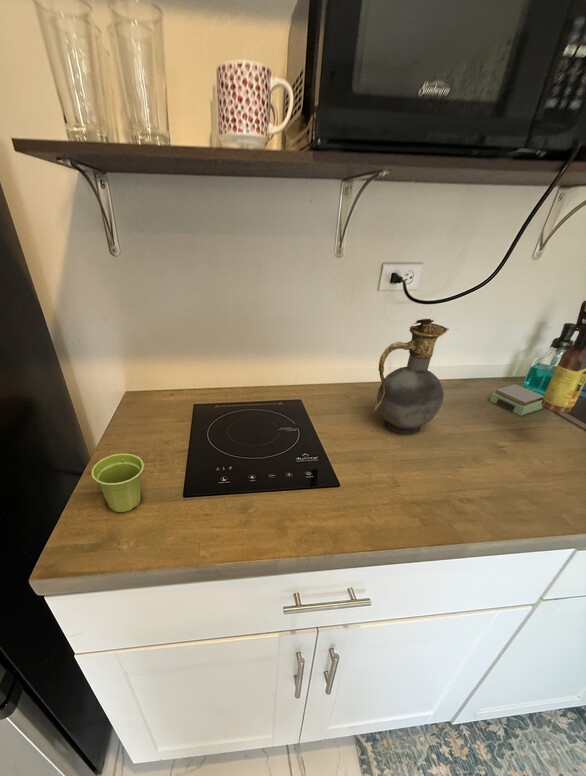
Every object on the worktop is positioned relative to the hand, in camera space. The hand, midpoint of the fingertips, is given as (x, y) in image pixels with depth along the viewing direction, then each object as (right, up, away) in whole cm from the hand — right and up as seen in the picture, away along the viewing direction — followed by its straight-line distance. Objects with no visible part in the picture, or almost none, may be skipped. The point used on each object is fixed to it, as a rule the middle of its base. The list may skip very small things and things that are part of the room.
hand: (584, 346), depth 84 cm
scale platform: (+7, -8, +32) cm, 33 cm away
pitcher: (-34, -18, +20) cm, 43 cm away
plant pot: (-98, -33, -6) cm, 103 cm away
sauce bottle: (0, -13, +8) cm, 15 cm away
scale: (+7, -10, +33) cm, 36 cm away
